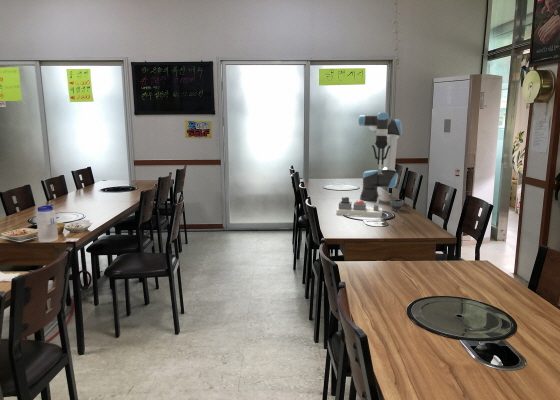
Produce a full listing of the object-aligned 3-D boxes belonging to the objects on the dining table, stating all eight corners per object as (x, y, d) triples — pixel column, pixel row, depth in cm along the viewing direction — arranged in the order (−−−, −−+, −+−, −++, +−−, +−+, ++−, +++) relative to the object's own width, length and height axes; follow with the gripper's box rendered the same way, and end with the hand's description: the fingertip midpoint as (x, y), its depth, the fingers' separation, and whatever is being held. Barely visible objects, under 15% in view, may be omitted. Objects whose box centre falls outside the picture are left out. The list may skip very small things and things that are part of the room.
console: (339, 209, 323) (339, 200, 322) (382, 212, 316) (382, 202, 315) (336, 214, 308) (336, 204, 307) (381, 217, 301) (381, 206, 300)
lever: (375, 207, 311) (378, 194, 309) (377, 208, 311) (380, 195, 308) (374, 208, 307) (378, 195, 305) (376, 209, 307) (380, 196, 305)
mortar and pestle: (402, 208, 329) (402, 192, 327) (404, 211, 320) (405, 194, 317) (386, 208, 330) (387, 192, 327) (388, 211, 320) (389, 194, 318)
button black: (342, 203, 316) (342, 196, 315) (349, 204, 315) (349, 197, 314) (341, 205, 312) (341, 198, 311) (348, 205, 310) (348, 198, 310)
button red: (356, 207, 314) (356, 200, 313) (363, 207, 313) (363, 200, 312) (355, 208, 310) (356, 201, 309) (363, 209, 308) (363, 201, 308)
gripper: (372, 135, 312) (370, 169, 316) (391, 135, 308) (389, 170, 313) (372, 134, 319) (370, 168, 323) (391, 135, 316) (389, 168, 320)
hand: (380, 169), depth 318 cm, fingers closed
